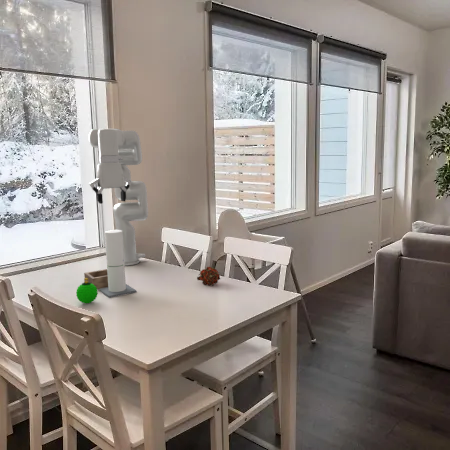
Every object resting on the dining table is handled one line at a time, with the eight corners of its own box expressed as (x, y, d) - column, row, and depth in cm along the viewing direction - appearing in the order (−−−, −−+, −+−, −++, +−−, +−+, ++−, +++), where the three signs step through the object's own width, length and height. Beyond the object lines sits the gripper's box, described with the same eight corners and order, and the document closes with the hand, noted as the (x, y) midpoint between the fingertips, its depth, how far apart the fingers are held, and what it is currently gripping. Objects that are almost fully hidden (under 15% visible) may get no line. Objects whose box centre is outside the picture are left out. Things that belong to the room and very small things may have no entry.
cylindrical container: (128, 286, 204) (124, 229, 200) (123, 292, 198) (119, 232, 193) (112, 286, 205) (107, 229, 201) (106, 291, 198) (101, 233, 194)
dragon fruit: (216, 291, 203) (201, 289, 213) (228, 277, 206) (213, 275, 216) (204, 278, 200) (190, 276, 210) (216, 263, 203) (202, 262, 213)
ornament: (76, 307, 183) (74, 282, 181) (77, 300, 190) (75, 276, 189) (98, 305, 185) (96, 280, 183) (98, 298, 192) (96, 274, 191)
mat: (125, 285, 210) (125, 283, 209) (136, 292, 200) (136, 290, 200) (99, 290, 203) (98, 288, 203) (108, 297, 193) (108, 295, 193)
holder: (109, 279, 220) (108, 268, 219) (118, 285, 210) (118, 274, 209) (85, 283, 213) (84, 272, 212) (93, 289, 204) (92, 278, 203)
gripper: (126, 158, 200) (128, 199, 203) (85, 160, 190) (88, 203, 193) (133, 159, 194) (135, 201, 197) (91, 161, 184) (94, 205, 187)
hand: (112, 202), depth 195 cm, fingers open, 9 cm apart
